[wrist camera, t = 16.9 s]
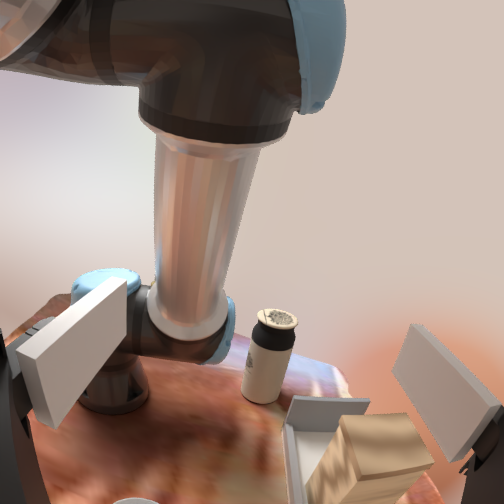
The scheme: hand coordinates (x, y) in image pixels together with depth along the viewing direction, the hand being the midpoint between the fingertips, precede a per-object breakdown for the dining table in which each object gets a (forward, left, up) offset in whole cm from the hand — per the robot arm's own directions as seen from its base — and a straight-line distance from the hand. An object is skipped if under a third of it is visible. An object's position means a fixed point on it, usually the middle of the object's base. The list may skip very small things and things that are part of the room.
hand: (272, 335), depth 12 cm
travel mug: (-33, +19, -34) cm, 51 cm away
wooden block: (-2, +19, -33) cm, 38 cm away
